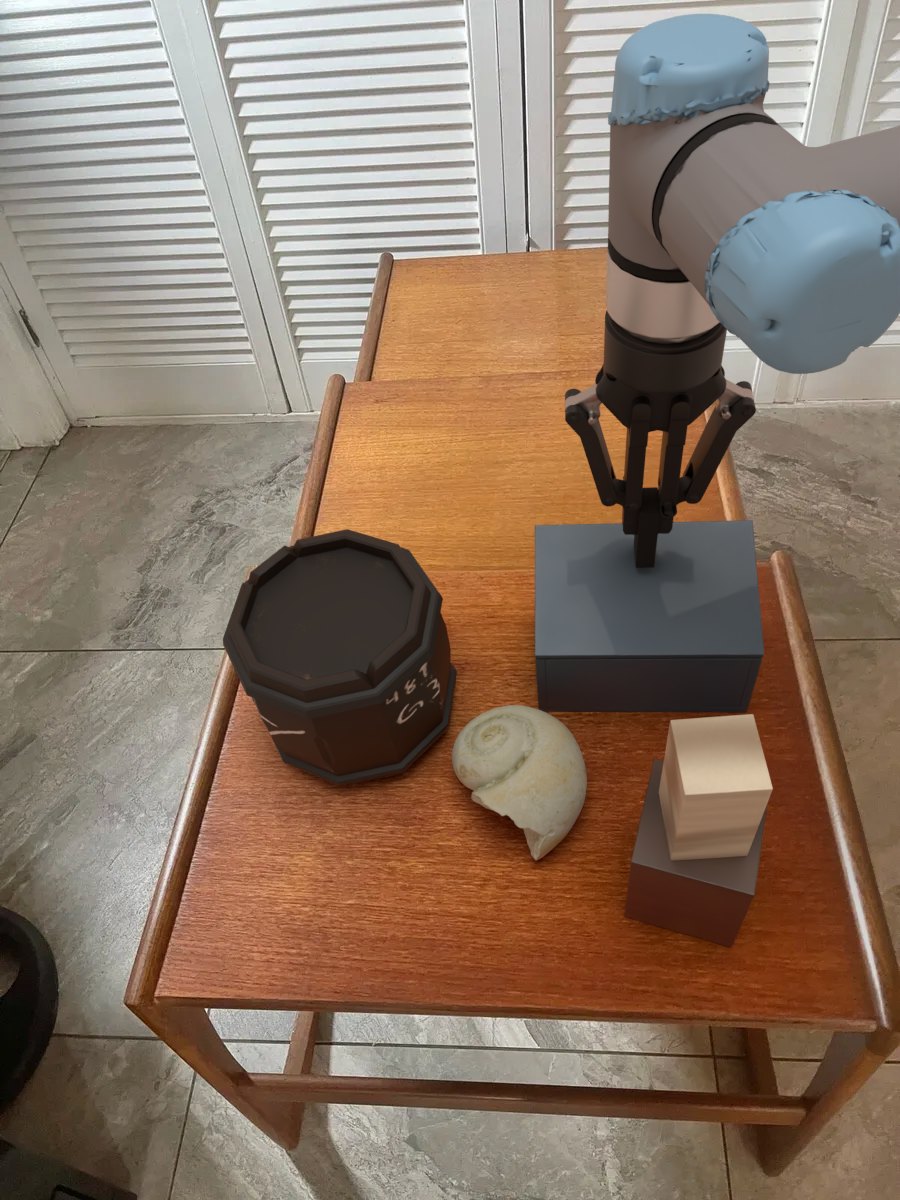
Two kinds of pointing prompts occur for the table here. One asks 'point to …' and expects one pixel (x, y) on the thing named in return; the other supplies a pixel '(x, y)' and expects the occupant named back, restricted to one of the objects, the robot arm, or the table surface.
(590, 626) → the lid
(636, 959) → the table surface
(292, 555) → the octagonal dark pot
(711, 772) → the block
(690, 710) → the chest
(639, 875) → the plinth
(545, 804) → the seashell
